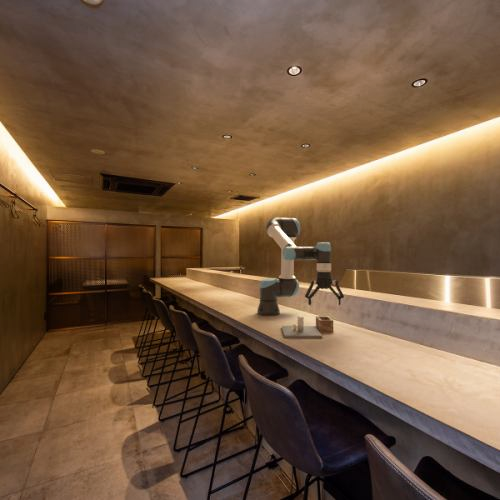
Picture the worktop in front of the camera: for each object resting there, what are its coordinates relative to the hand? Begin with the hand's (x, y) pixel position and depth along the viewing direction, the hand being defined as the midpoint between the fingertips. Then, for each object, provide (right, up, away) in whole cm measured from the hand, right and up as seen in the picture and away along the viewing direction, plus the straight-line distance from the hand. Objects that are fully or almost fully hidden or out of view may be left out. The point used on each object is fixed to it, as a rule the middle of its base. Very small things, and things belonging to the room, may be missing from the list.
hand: (324, 311), depth 154 cm
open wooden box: (0, -10, 0) cm, 10 cm away
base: (-14, -10, -6) cm, 18 cm away
